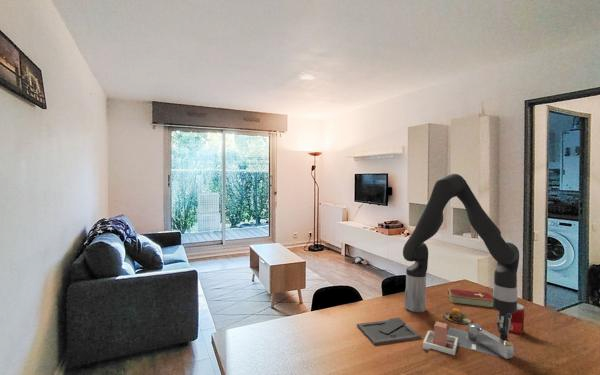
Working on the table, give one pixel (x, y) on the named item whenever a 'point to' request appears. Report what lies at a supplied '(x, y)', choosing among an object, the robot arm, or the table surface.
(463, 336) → the crank plate
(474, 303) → the hardcover book
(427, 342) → the tray
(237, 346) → the table surface
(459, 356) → the table surface
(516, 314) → the canned food
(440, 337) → the block
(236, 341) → the table surface
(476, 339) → the crank
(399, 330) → the picture frame
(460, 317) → the burger
